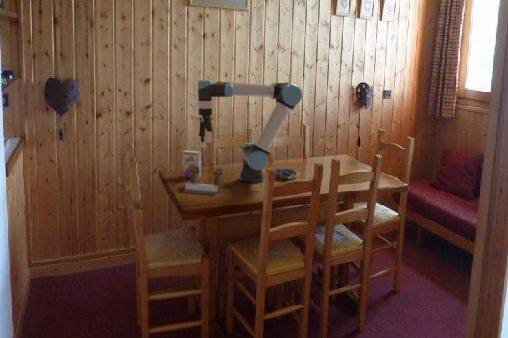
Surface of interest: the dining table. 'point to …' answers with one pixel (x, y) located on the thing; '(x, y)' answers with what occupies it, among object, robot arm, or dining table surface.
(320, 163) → the dining table surface
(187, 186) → the rail
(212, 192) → the mat
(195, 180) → the post
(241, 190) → the dining table surface
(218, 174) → the post
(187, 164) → the candy bar box
